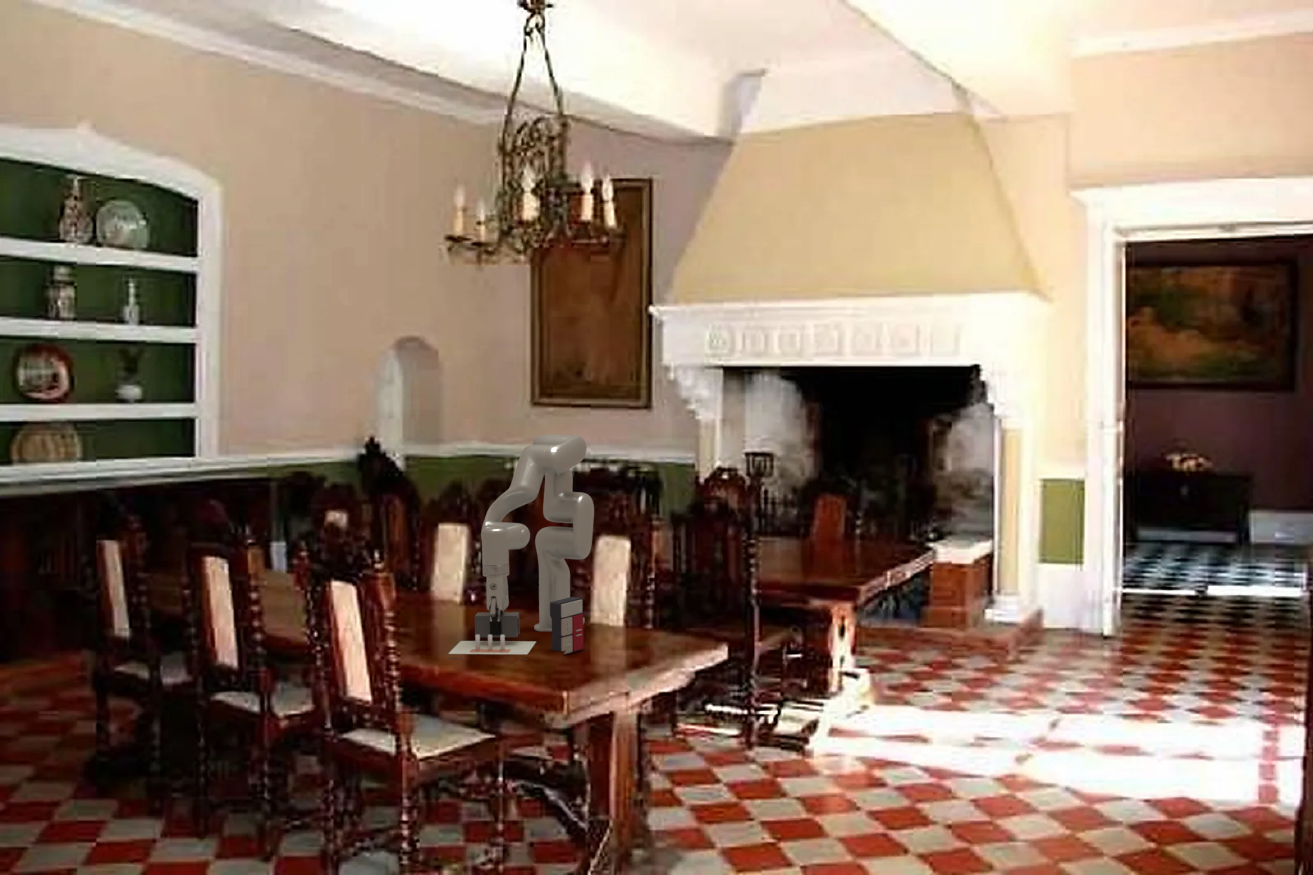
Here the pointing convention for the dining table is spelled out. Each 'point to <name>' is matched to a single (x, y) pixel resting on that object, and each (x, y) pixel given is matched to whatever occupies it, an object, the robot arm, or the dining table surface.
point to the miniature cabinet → (567, 624)
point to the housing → (508, 624)
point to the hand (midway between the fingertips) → (497, 632)
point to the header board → (492, 647)
